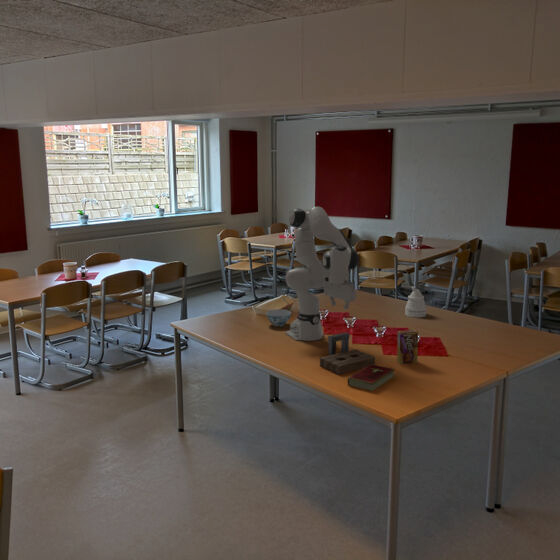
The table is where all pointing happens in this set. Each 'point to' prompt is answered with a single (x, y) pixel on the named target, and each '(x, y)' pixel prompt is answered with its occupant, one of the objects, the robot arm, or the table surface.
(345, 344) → the grey u-shaped block
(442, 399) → the table surface
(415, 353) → the candy box
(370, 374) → the hardcover book
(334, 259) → the robot arm
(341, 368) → the wooden board with holes
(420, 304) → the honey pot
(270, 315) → the chinaware
